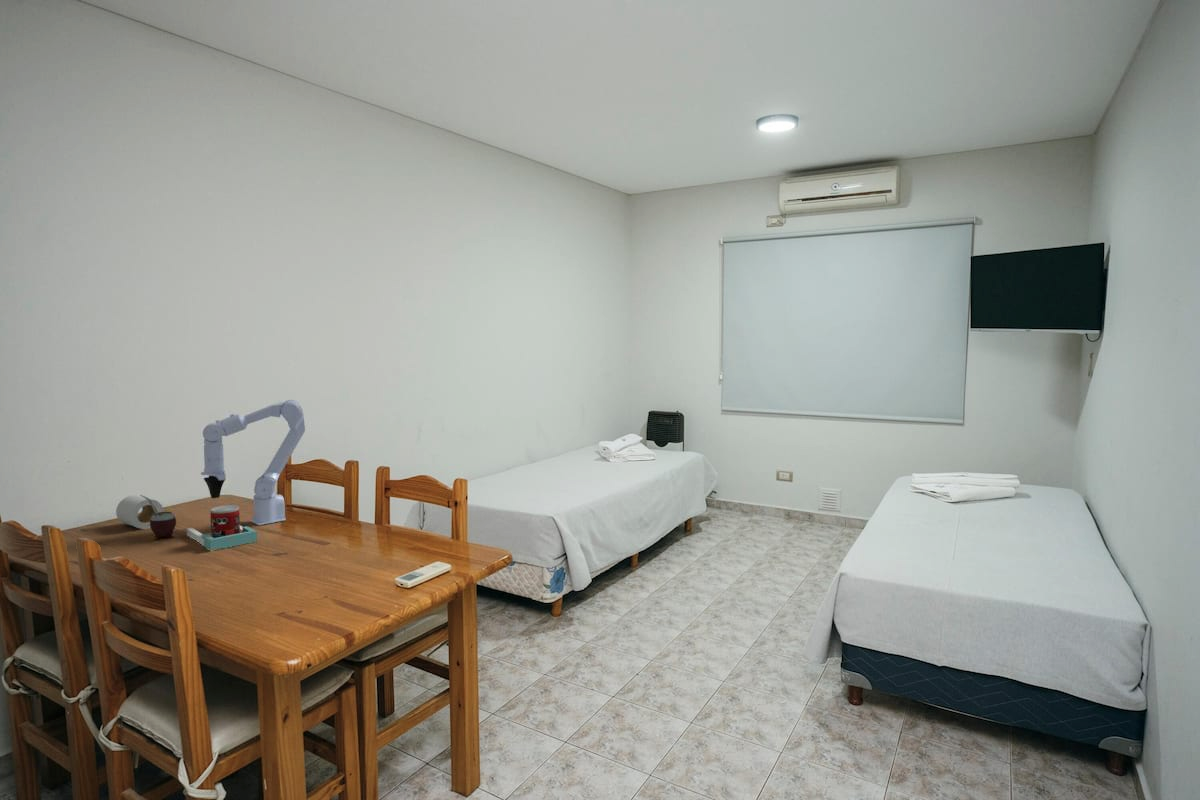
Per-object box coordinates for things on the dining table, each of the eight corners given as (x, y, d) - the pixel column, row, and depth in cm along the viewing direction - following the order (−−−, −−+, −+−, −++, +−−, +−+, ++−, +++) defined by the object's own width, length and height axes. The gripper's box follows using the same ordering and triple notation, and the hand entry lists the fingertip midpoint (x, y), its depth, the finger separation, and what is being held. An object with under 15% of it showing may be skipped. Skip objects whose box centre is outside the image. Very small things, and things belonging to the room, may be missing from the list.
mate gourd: (181, 535, 218) (179, 490, 217) (163, 542, 210) (161, 496, 209) (160, 534, 219) (158, 489, 217) (141, 541, 211) (139, 494, 210)
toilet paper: (163, 525, 229) (162, 496, 228) (131, 532, 220) (130, 502, 219) (149, 520, 234) (147, 492, 233) (116, 527, 225) (115, 498, 224)
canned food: (206, 542, 211) (205, 508, 210) (232, 536, 218) (231, 503, 217) (219, 547, 207) (218, 512, 206) (244, 541, 214) (243, 507, 213)
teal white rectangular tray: (231, 527, 227) (231, 517, 227) (257, 541, 213) (256, 531, 213) (186, 536, 217) (186, 525, 217) (210, 551, 203) (210, 540, 203)
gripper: (193, 457, 229) (195, 495, 230) (208, 463, 219) (210, 503, 221) (216, 454, 234) (217, 492, 235) (231, 460, 225) (232, 499, 226)
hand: (215, 497), depth 228 cm, fingers closed
